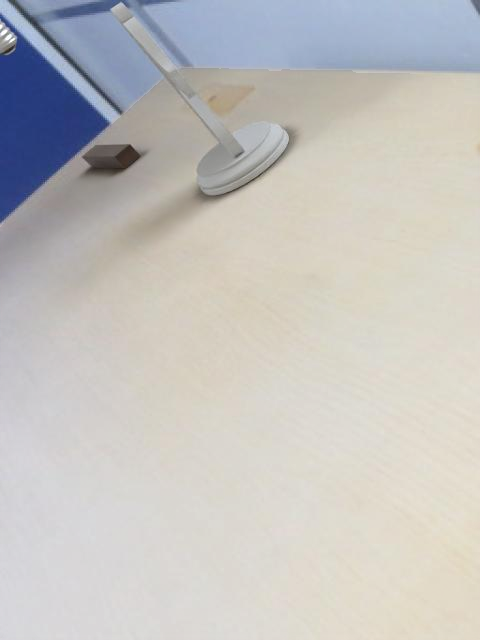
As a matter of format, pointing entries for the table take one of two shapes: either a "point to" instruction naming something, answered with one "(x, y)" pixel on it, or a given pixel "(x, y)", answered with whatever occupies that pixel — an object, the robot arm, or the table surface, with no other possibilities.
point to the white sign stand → (214, 125)
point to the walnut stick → (111, 156)
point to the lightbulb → (6, 40)
